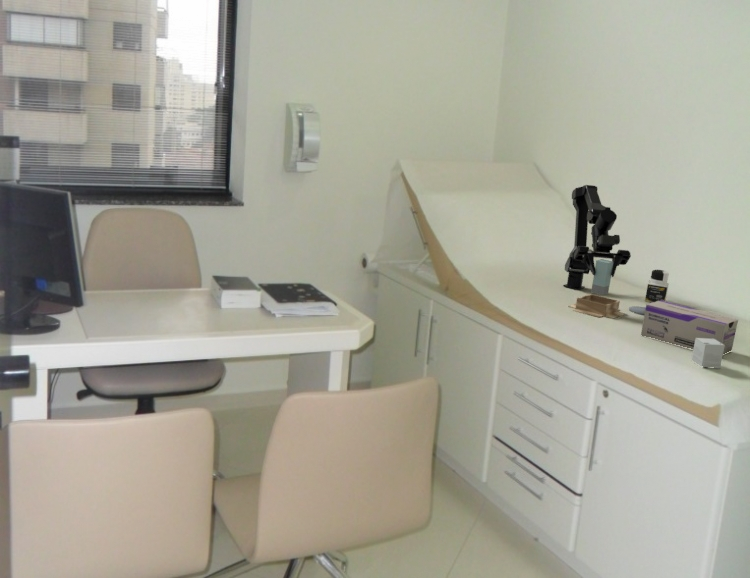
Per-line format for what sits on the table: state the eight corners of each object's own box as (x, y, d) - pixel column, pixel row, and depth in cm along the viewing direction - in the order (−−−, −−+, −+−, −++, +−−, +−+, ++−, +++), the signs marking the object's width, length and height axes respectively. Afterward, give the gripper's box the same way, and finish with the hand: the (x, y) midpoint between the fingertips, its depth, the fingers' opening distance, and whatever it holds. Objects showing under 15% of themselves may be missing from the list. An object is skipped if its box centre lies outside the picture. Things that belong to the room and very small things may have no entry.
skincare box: (709, 361, 244) (714, 338, 242) (720, 369, 238) (725, 344, 237) (690, 361, 243) (695, 337, 241) (701, 368, 237) (706, 343, 236)
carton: (585, 301, 303) (587, 291, 302) (629, 312, 293) (631, 301, 292) (563, 308, 291) (565, 297, 290) (608, 320, 280) (610, 308, 279)
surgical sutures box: (640, 336, 265) (646, 304, 263) (655, 331, 273) (660, 300, 270) (718, 358, 249) (725, 324, 246) (731, 352, 257) (738, 319, 254)
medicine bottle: (644, 301, 313) (650, 270, 310) (646, 297, 319) (651, 267, 316) (664, 304, 310) (670, 273, 307) (665, 301, 317) (671, 270, 314)
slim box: (596, 290, 293) (601, 259, 291) (608, 293, 291) (613, 261, 288) (591, 292, 290) (596, 260, 287) (602, 295, 287) (608, 263, 285)
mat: (635, 306, 303) (635, 304, 303) (662, 313, 297) (662, 311, 297) (624, 310, 296) (624, 308, 296) (651, 317, 290) (651, 315, 290)
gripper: (580, 223, 288) (583, 260, 280) (633, 228, 289) (638, 265, 281) (572, 241, 298) (574, 277, 290) (623, 245, 298) (627, 282, 290)
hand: (603, 275), depth 287 cm, fingers closed on slim box, 6 cm apart
